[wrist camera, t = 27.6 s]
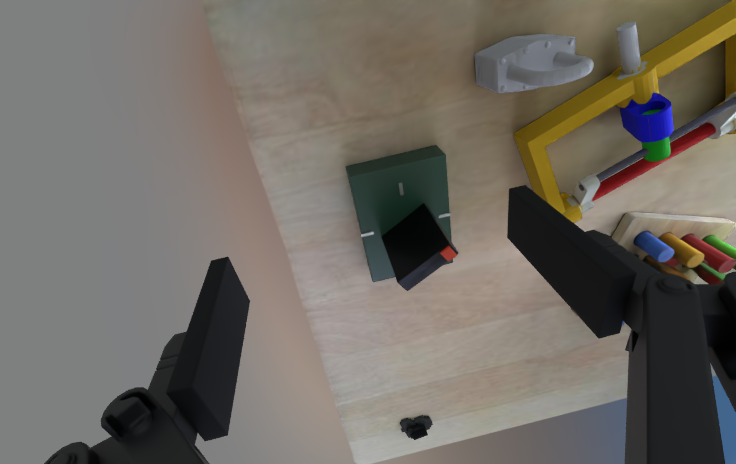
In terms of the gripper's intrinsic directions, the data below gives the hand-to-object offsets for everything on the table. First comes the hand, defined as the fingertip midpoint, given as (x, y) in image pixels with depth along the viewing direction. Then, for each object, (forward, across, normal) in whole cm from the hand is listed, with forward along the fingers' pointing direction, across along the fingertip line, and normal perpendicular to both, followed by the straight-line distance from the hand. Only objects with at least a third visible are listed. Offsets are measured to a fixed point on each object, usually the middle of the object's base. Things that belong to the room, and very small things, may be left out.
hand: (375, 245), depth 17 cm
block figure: (+23, -2, +57) cm, 61 cm away
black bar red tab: (+20, -5, +12) cm, 24 cm away
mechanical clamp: (+23, -33, +5) cm, 40 cm away
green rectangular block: (+23, -5, +12) cm, 26 cm away
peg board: (+23, -40, +31) cm, 56 cm away
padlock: (+23, -18, -2) cm, 29 cm away
